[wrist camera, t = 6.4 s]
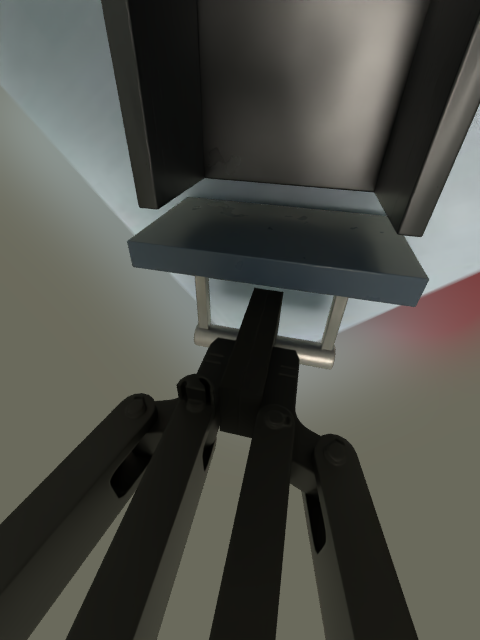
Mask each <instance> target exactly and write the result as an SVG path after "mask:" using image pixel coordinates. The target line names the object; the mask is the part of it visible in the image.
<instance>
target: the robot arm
mask: <svg viewBox="0 0 480 640" xmlns="http://www.w3.org/2000/svg"><path fill="white" fill-rule="evenodd" d="M282 299H283V292H280V291H273V290H266V289H259V288H254V291H253V293H252V296H251V299H250V302H249V304H248V307H247V310H246V313H245V315H244V318H243V321H242V324H241V327H240V329H239V332H238V335H237V338H236V340H231V339H225V338H219V337H218V338H217V339H215V340H214V341H213V342H212V343H211V344H210V346H209V348H208V350H207V352H206V355H205V357H204V359H203V361H202V363H201V365H200V368H199V370H198V372H197V374H191V375H187V376H186V377H184V378H182V379H181V380H180V381H179V383H178V384H177V391H178V396H179V397H178V398H176V399H172V400H163V401H154V399H153V398H152V397H151V396H149V395H146V394H143V393H140V394H134V395H131V396H129V397H127V398H126V399H124V400H123V401H122V402H121V403H120V404H119V405H118V406H117V407H116V408H115V409H114V410H113V411H112V412H111V413H110V414H109V415H108V416H107V417H106V418H105V419H104V420H103V421H102V422H101V423H100V424H99V425H98V426H97V427H96V428H95V429H94V430H93V431H92V432H91V433H90V434H89V435H88V436H87V437H86V438H85V439H84V440H83V441H82V442H81V443H80V444H79V445H78V446H77V447H76V448H75V449H74V450H73V451H72V452H71V453H70V454H69V455H68V456H67V457H66V459H64V460H63V461H62V463H60V464H59V465H58V466H57V468H56V469H55V470H54V471H53V472H52V473H51V474H50V475H49V476H48V477H47V478H46V479H45V480H44V481H43V482H42V483H41V484H40V485H39V486H38V487H37V488H36V489H35V490H34V491H33V492H32V493H31V494H30V495H29V496H28V497H27V498H26V499H25V500H24V501H23V502H22V503H21V504H20V505H19V506H18V507H17V508H16V509H15V510H14V511H13V512H12V513H11V514H10V515H9V516H8V517H7V518H6V519H5V520H4V521H3V522H2V523H1V524H0V640H27V639H28V638H29V636H30V635H31V633H32V632H33V631H34V629H35V628H36V627H37V625H38V624H39V623H40V621H41V620H42V618H43V617H44V616H45V614H46V613H47V612H48V610H49V609H50V607H51V606H52V605H53V603H54V602H55V601H56V599H57V598H58V596H59V595H60V594H61V592H62V591H63V589H64V588H65V587H66V585H67V584H68V583H69V581H70V580H71V579H72V577H73V576H74V574H75V573H76V572H77V570H78V569H79V568H80V566H81V565H82V563H83V562H84V561H85V559H86V558H87V557H88V555H89V554H90V552H91V551H92V549H93V548H94V547H95V546H96V544H97V543H98V541H99V540H100V539H101V537H102V536H103V534H104V533H105V532H106V530H107V529H108V528H109V526H110V525H111V524H112V522H113V521H114V519H115V518H116V517H117V515H118V514H119V513H120V511H121V510H122V508H123V507H124V506H125V504H126V503H127V502H128V500H129V499H130V498H131V496H132V495H133V493H134V492H135V491H136V492H135V494H134V496H133V498H132V500H131V503H130V504H129V507H128V509H127V511H126V513H125V515H124V517H123V519H122V521H121V523H120V526H119V528H118V530H117V532H116V534H115V536H114V538H113V541H112V542H111V545H110V547H109V549H108V551H107V553H106V555H105V557H104V559H103V562H102V564H101V566H100V568H99V570H98V572H97V574H96V577H95V578H94V581H93V583H92V585H91V587H90V589H89V591H88V593H87V596H86V598H85V600H84V602H83V604H82V606H81V608H80V610H79V612H78V614H77V617H76V619H75V621H74V623H73V625H72V627H71V629H70V631H69V634H68V636H67V638H66V640H157V637H158V633H159V630H160V627H161V624H162V620H163V617H164V614H165V610H166V607H167V603H168V601H169V597H170V594H171V591H172V587H173V584H174V581H175V578H176V574H177V571H178V568H179V565H180V561H181V558H182V555H183V551H184V548H185V545H186V542H187V538H188V535H189V532H190V529H191V525H192V522H193V519H194V516H195V512H196V509H197V506H198V502H199V499H200V496H201V493H202V489H203V486H204V483H205V480H206V476H207V473H208V470H209V466H210V463H211V460H212V457H213V453H214V450H215V446H216V440H217V437H216V436H217V432H218V429H219V426H220V431H223V432H227V433H232V434H236V435H240V436H245V437H249V438H252V440H251V446H250V450H249V455H248V459H247V464H246V469H245V474H244V478H243V483H242V488H241V492H240V497H239V501H238V506H237V511H236V516H235V520H234V525H233V530H232V534H231V539H230V544H229V549H228V553H227V558H226V563H225V567H224V572H223V576H222V581H221V586H220V591H219V595H218V600H217V605H216V609H215V614H214V619H213V623H212V628H211V633H210V638H209V640H275V638H276V627H277V616H278V605H279V594H280V584H281V573H282V561H283V551H284V540H285V529H286V518H287V507H288V496H289V485H290V484H292V485H293V486H295V487H297V488H298V489H300V490H301V491H302V497H303V503H304V510H305V515H306V522H307V528H308V534H309V540H310V546H311V552H312V559H313V565H314V571H315V576H316V583H317V589H318V595H319V601H320V608H321V613H322V620H323V625H324V632H325V638H326V640H418V637H417V634H416V631H415V628H414V625H413V622H412V619H411V616H410V613H409V610H408V607H407V604H406V601H405V598H404V595H403V592H402V589H401V586H400V583H399V580H398V577H397V574H396V571H395V568H394V565H393V562H392V559H391V556H390V553H389V550H388V547H387V544H386V541H385V538H384V535H383V532H382V529H381V526H380V523H379V520H378V517H377V514H376V511H375V508H374V505H373V502H372V498H371V496H370V492H369V489H368V486H367V484H366V480H365V477H364V474H363V471H362V468H361V466H360V462H359V459H358V457H357V453H356V452H355V450H354V448H353V447H352V445H351V444H350V443H349V442H348V441H347V440H346V439H344V438H342V437H340V436H338V435H334V434H326V435H322V436H320V435H318V434H316V433H314V432H312V431H311V430H309V429H308V428H306V427H305V426H304V425H303V424H302V423H301V422H300V421H299V419H298V418H297V415H296V412H295V404H296V393H297V382H298V372H299V371H298V370H299V361H300V359H299V357H298V355H297V352H296V350H291V349H286V348H280V347H275V344H276V339H277V333H278V327H279V320H280V313H281V306H282ZM136 489H137V490H136Z"/></svg>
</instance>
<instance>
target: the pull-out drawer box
mask: <svg viewBox="0 0 480 640" xmlns="http://www.w3.org/2000/svg"><path fill="white" fill-rule="evenodd" d="M101 3H102V9H103V14H104V19H105V25H106V30H107V36H108V41H109V47H110V52H111V58H112V63H113V68H114V74H115V79H116V85H117V90H118V96H119V101H120V107H121V112H122V117H123V123H124V128H125V134H126V139H127V145H128V150H129V156H130V161H131V167H132V172H133V177H134V183H135V188H136V194H137V199H138V205H139V207H140V208H148V209H159V208H161V207H162V206H164V205H165V204H167V203H168V202H170V201H171V200H173V199H174V198H176V197H177V196H179V195H180V194H181V193H183V192H184V191H186V190H187V189H189V188H190V187H192V186H193V185H195V184H196V183H198V182H199V181H201V180H202V179H204V178H210V179H222V180H234V181H246V182H258V183H269V184H281V185H293V186H305V187H317V188H329V189H341V190H352V191H364V192H374V193H375V194H376V196H377V198H378V200H379V202H380V204H381V206H382V207H383V209H384V211H385V213H386V215H387V216H382V215H371V214H361V213H350V212H340V211H330V210H319V209H309V208H298V207H288V206H278V205H267V204H257V203H246V202H236V201H226V200H215V199H205V198H194V197H187V198H186V199H184V200H183V201H181V202H180V203H179V204H177V205H176V206H175V207H173V208H172V209H170V210H169V211H168V212H166V213H165V214H164V215H162V216H161V217H160V218H158V219H157V220H155V221H154V222H153V223H151V224H150V225H149V226H147V227H146V228H144V229H143V230H142V231H140V232H139V233H138V234H136V235H135V236H133V237H132V238H131V239H130V240H128V241H127V243H128V248H129V252H130V257H131V261H132V266H133V267H137V268H144V269H151V270H158V271H165V272H172V273H179V274H186V275H193V276H195V284H196V297H197V310H198V321H199V322H198V325H197V327H196V329H195V334H194V342H195V344H196V345H198V346H204V347H209V346H210V344H211V343H212V342H213V341H214V340H215V339H217V338H218V337H219V338H225V339H231V340H236V338H237V335H238V332H239V329H237V328H231V327H225V326H219V325H213V324H211V312H210V290H209V278H214V279H221V280H228V281H235V282H242V283H249V284H256V285H263V286H270V287H277V288H285V289H292V290H299V291H306V292H313V293H320V294H327V295H334V297H333V300H332V304H331V308H330V311H329V315H328V319H327V322H326V326H325V330H324V333H323V337H322V341H321V343H320V342H314V341H308V340H302V339H296V338H290V337H284V336H278V335H277V339H276V344H275V347H280V348H286V349H291V350H296V352H297V355H298V357H299V359H300V361H299V364H303V365H308V366H313V367H319V368H325V369H332V367H333V364H334V359H335V346H334V343H335V339H336V336H337V333H338V330H339V327H340V323H341V320H342V317H343V314H344V311H345V307H346V304H347V301H348V298H355V299H362V300H369V301H376V302H383V303H390V304H397V305H404V306H411V307H415V306H416V305H417V303H418V301H419V299H420V297H421V295H422V293H423V291H424V289H425V287H426V285H427V283H428V281H429V278H428V277H427V275H426V273H425V272H424V270H423V268H422V266H421V265H420V263H419V261H418V260H417V258H416V256H415V254H414V253H413V251H412V249H411V248H410V246H409V244H408V242H407V241H406V239H405V237H404V235H405V236H415V237H422V236H423V234H424V231H425V229H426V227H427V224H428V222H429V220H430V217H431V215H432V213H433V210H434V208H435V206H436V204H437V201H438V199H439V197H440V194H441V192H442V190H443V187H444V185H445V183H446V180H447V178H448V176H449V174H450V171H451V169H452V167H453V164H454V162H455V160H456V157H457V155H458V153H459V150H460V148H461V146H462V144H463V141H464V139H465V137H466V134H467V132H468V130H469V127H470V125H471V123H472V120H473V118H474V116H475V114H476V111H477V109H478V107H479V104H480V0H101Z"/></svg>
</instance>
